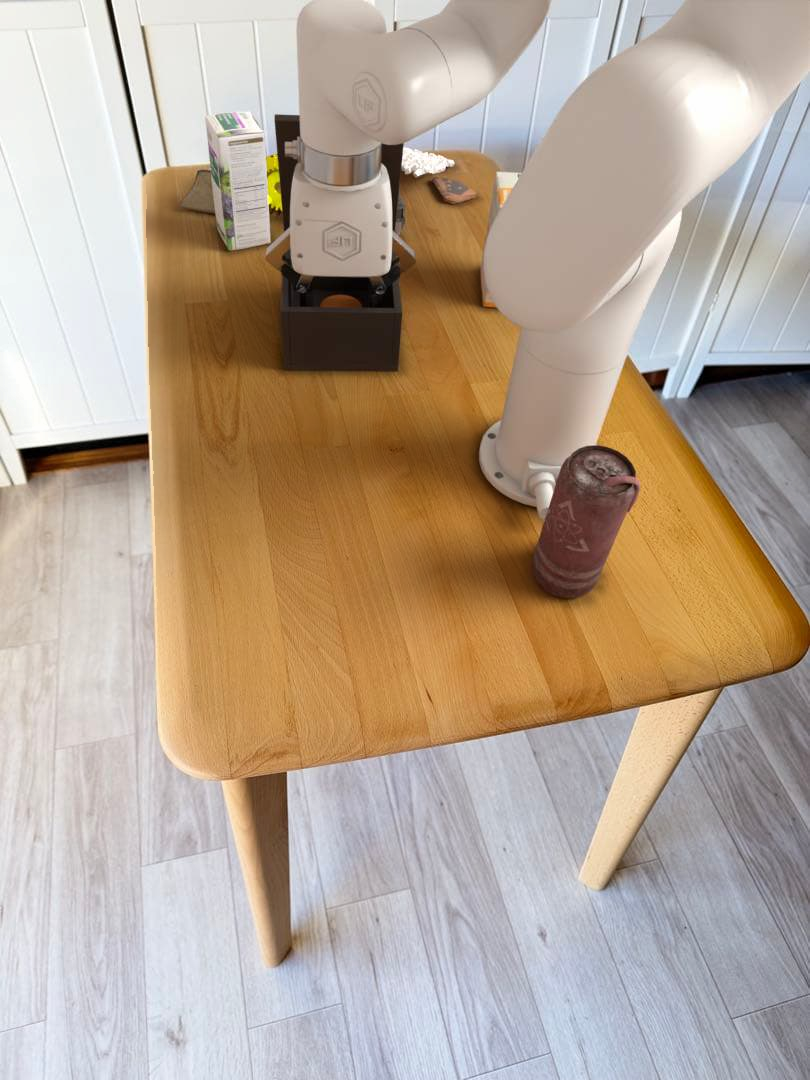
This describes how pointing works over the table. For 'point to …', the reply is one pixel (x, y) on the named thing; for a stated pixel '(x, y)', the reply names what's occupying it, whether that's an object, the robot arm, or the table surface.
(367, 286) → the box
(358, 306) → the orange cylinder
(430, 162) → the salt crystals
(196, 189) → the ceramic shard
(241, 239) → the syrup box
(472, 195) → the pottery shard
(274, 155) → the gear
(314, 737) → the table surface
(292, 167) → the chamber lid
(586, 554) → the can
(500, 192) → the supplement box
